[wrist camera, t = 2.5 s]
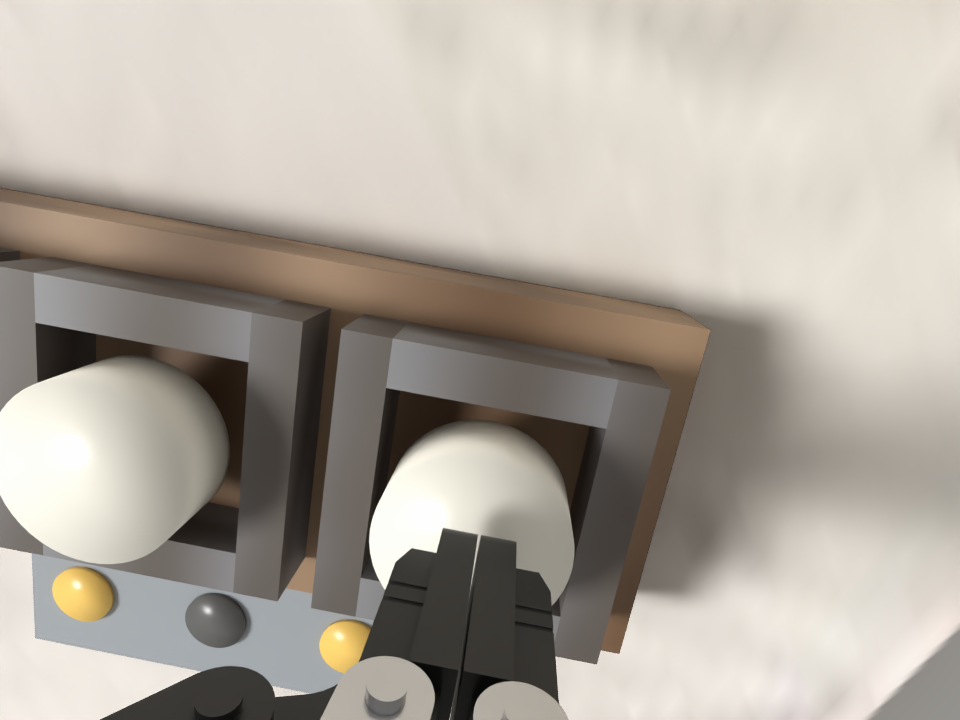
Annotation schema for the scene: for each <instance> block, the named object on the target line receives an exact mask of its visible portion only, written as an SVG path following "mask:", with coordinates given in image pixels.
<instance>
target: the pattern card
mask: <svg viewBox="0 0 960 720" xmlns="http://www.w3.org/2000/svg"><path fill="white" fill-rule="evenodd" d="M32 569H33V594H34V619H35V638H37V639H42V640H47V641H52V642H57V643H62V644H67V645H72V646H77V647H82V648H87V649H92V650H97V651H102V652H107V653H112V654H117V655H122V656H127V657H132V658H137V659H142V660H147V661H152V662H157V663H162V664H167V665H172V666H177V667H182V668H187V669H192V670H197V671H205V670H208V669H212V668H216V667H222V666H239V667H245V668H249V669H252V670H254V671H256V672H258V673H260V674H261V675H263V676H264V677H265V678H266V679H267V680H268V681H269V683H270V684H271V686H276V687H281V688H286V689H291V690H296V691H301V692H306V693H311V694H312V693H316V692H320V691H324V690H326V689H328V688H331V687H333V686H335V685H336V684H338V683H339V681H340V679H341V678H342V676H343V675H344V674H345V672H346V671H347V670H348V669H350V668H351V667H352V666H353V665H355V664H357V663H358V662H359V660H360V657H361V655H362V652H363V649H364V647H365V644H366V641H367V638H368V636H369V633H370V630H371V627H372V625H373V622H374V620H369V619H364V618H359V617H354V616H349V615H343V614H338V613H333V612H328V611H323V610H318V609H313V608H311V602H312V593H307V592H302V591H297V590H292V589H287V588H286V589H285V590H284V592H283V594H282V595H281V597H280V598H279V600H278V602H277V601H272V600H267V599H262V598H257V597H252V596H247V595H242V594H237V593H232V592H227V591H221V590H216V589H211V588H206V587H201V586H196V585H191V584H186V583H181V582H176V581H171V580H166V579H161V578H155V577H150V576H145V575H140V574H135V573H130V572H125V571H120V570H115V569H110V568H105V567H100V566H94V565H89V564H84V563H79V562H74V561H69V560H64V559H59V558H54V557H49V556H44V555H39V554H34V553H32Z"/></svg>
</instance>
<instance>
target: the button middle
mask: <svg viewBox="0 0 960 720" xmlns="http://www.w3.org/2000/svg"><path fill="white" fill-rule="evenodd" d="M229 461H230V442H229V435H228V431H227V428H226V424H225V422H224V419H223V417H222V415H221V413H220V411H219V409H218V407H217V405H216V404H215V402H214V401H213V399H212V398H211V397H210V395H209V394H208V393H207V392H206V391H205V390H204V388H203V387H202V386H201V385H200V384H199V383H198V382H196V381H195V380H194V379H193V378H192V377H191V376H189V375H188V374H186V373H185V372H183V371H182V370H180V369H178V368H177V367H175V366H173V365H171V364H169V363H166V362H164V361H161V360H158V359H155V358H151V357H147V356H139V355H121V356H115V357H110V358H107V359H104V360H101V361H98V362H95V363H92V364H89V365H87V366H84V367H81V368H78V369H75V370H72V371H70V372H67V373H64V374H61V375H58V376H56V377H53V378H50V379H47V380H44V381H41V382H39V383H36V384H33V385H31V386H29V387H27V388H25V389H23V390H22V391H20V392H19V393H18V394H16V395H15V396H14V397H13V398H12V399H11V400H10V401H8V402H7V403H6V405H5V406H4V408H3V409H2V410H1V412H0V496H1V498H2V500H3V501H4V503H5V505H6V506H7V508H8V509H9V511H10V512H11V514H12V515H13V516H14V517H15V519H16V520H17V521H18V522H19V523H20V524H21V525H22V526H23V527H24V528H25V529H26V530H27V531H28V532H29V533H30V534H31V535H32V536H34V537H35V538H36V539H38V540H39V541H40V542H42V543H43V544H45V545H46V546H48V547H50V548H51V549H53V550H55V551H57V552H59V553H61V554H63V555H66V556H68V557H71V558H74V559H77V560H81V561H85V562H89V563H96V564H118V563H125V562H130V561H134V560H137V559H139V558H142V557H144V556H146V555H148V554H150V553H151V552H153V551H155V550H156V549H157V548H158V547H160V546H161V545H162V544H163V543H164V542H165V541H167V540H168V539H169V538H170V537H171V536H172V535H173V534H174V533H175V532H176V531H177V530H178V529H179V528H181V527H182V526H183V525H184V524H185V523H186V522H187V521H188V520H189V519H190V518H191V517H192V516H194V515H195V514H196V513H197V512H198V511H199V510H200V509H201V508H202V507H203V506H204V505H205V504H206V503H208V502H209V501H210V500H211V499H212V498H213V496H214V495H215V494H216V493H217V492H218V490H219V489H220V487H221V486H222V484H223V481H224V479H225V477H226V474H227V471H228V467H229Z"/></svg>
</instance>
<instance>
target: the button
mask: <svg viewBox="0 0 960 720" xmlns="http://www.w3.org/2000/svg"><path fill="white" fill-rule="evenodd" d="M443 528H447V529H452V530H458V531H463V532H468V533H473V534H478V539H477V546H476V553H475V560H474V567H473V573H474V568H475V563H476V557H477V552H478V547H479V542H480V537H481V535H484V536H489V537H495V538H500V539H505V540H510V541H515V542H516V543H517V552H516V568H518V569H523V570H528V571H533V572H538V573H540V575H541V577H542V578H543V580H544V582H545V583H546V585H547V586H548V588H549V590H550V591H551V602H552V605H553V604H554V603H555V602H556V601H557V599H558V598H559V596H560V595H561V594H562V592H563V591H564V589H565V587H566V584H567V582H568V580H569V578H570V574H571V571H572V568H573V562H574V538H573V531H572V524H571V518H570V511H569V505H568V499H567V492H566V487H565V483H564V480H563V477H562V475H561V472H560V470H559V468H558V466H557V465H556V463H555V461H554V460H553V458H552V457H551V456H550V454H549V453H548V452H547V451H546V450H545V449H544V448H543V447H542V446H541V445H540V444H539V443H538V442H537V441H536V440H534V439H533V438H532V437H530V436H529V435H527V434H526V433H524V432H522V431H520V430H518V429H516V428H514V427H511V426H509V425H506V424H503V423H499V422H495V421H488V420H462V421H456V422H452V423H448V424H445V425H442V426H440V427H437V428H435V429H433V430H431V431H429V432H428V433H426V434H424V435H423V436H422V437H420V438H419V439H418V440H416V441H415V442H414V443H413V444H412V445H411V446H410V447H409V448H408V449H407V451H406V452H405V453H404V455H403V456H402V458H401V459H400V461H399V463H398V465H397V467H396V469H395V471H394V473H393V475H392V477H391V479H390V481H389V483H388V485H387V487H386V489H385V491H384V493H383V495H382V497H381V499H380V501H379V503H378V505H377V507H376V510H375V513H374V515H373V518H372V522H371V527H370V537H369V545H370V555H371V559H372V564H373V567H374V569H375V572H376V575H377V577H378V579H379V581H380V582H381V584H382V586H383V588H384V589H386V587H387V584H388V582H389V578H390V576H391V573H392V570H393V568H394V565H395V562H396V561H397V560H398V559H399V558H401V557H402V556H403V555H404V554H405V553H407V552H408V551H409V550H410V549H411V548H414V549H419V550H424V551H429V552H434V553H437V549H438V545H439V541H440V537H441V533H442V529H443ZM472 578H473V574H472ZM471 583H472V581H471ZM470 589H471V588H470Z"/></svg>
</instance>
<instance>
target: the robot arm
mask: <svg viewBox="0 0 960 720" xmlns="http://www.w3.org/2000/svg"><path fill="white" fill-rule="evenodd" d="M477 539H478V534H473V533H468V532H463V531H458V530H452V529H447V528H443V529H442V533H441V537H440V541H439V545H438V549H437V553H434V552H429V551H424V550H419V549H414V548H411V549H410V550H409V551H408V552H407V553H405V554H404V555H403V556H402V557H401V558H399V559H398V560H397V561H396V562H395V565H394V568H393V570H392V573H391V576H390V578H389V582H388V584H387V587H386V589H385V592H384V595H383V599H382V600H381V603H380V606H379V608H378V611H377V614H376V617H375V619H374V622H373V625H372V627H371V630H370V633H369V636H368V638H367V641H366V644H365V647H364V649H363V652H362V655H361V657H360V660H359V662H358V663H357V664H355V665H353V666H352V667H351V668H350V669H348V670H347V671H346V672H345V674H344V675H343V676H342V678H341V679H340V681H339V683H338V684H336V685H335V686H333V687H331V688H328V689H326V690H324V691H320V692H316V693H312V694H305V695H295V696H284V697H275V694H274V691H273V688H272V686H271V684H270V683H269V681H268V680H267V679H266V678H265V677H264V676H263V675H261V674H260V673H258V672H256V671H254V670H252V669H249V668H245V667H239V666H222V667H216V668H212V669H208V670H205V671H202V672H200V673H197V674H195V675H193V676H191V677H189V678H187V679H185V680H182V681H180V682H178V683H176V684H174V685H172V686H170V687H168V688H166V689H164V690H161V691H159V692H157V693H155V694H153V695H151V696H149V697H147V698H145V699H143V700H140V701H138V702H136V703H134V704H132V705H130V706H128V707H126V708H124V709H122V710H119V711H117V712H115V713H113V714H111V715H109V716H107V717H105V718H103V719H100V720H449V718H450V720H568V718H567V715H566V713H565V712H564V710H563V709H562V707H561V706H560V705H559V700H558V687H557V673H556V659H555V645H554V633H553V616H552V602H551V591H550V590H549V588H548V586H547V585H546V583H545V582H544V580H543V578H542V577H541V575H540V573H538V572H533V571H528V570H523V569H518V568H516V552H517V543H516V542H515V541H510V540H505V539H500V538H495V537H489V536H484V535H481V537H480V542H479V547H478V552H477V557H476V563H475V568H474V573H473V567H474V560H475V553H476V546H477ZM472 574H473V578H472ZM471 581H472V583H471ZM470 588H471V589H470ZM451 707H452V709H451ZM450 713H451V716H450Z"/></svg>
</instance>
